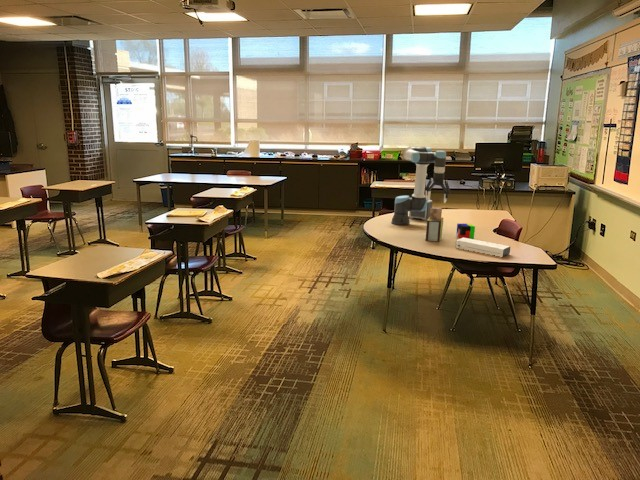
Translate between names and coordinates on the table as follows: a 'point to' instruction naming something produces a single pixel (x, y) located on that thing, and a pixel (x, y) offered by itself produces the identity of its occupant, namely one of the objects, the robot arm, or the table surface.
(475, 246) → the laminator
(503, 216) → the table surface
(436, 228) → the protein box
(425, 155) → the robot arm
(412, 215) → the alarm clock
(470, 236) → the puzzle toy
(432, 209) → the walnut block
